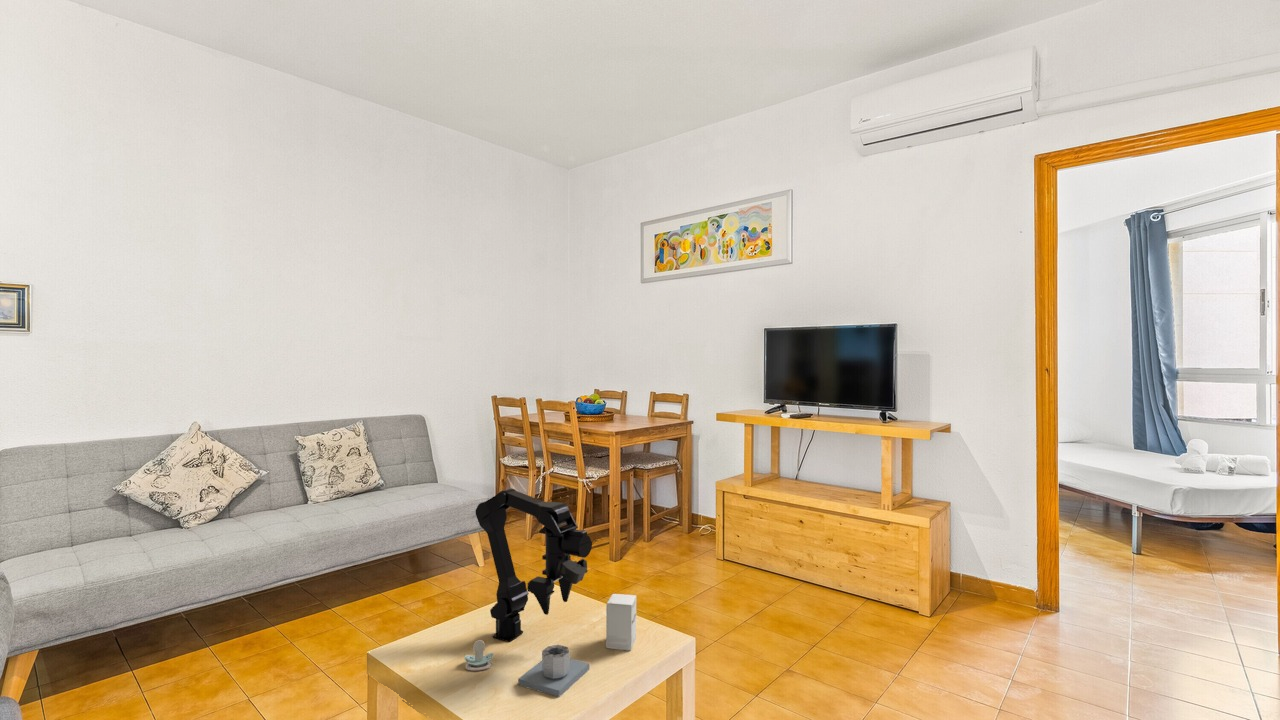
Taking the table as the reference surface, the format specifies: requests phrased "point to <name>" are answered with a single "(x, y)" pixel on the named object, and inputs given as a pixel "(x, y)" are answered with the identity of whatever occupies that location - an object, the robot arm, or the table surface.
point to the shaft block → (556, 685)
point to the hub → (555, 661)
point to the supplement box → (621, 622)
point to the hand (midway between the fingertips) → (556, 607)
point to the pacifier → (478, 658)
